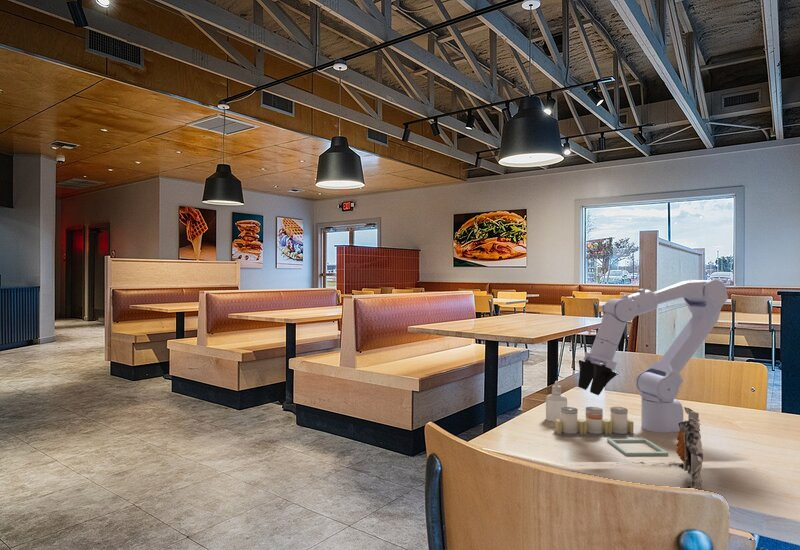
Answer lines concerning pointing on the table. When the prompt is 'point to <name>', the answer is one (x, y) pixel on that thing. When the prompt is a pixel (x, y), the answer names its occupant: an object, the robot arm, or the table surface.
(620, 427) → the fuse
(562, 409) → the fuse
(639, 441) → the tray
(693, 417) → the meal
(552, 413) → the eye dropper bottle
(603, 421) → the fuse holder
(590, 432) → the cylinder
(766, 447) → the table surface
